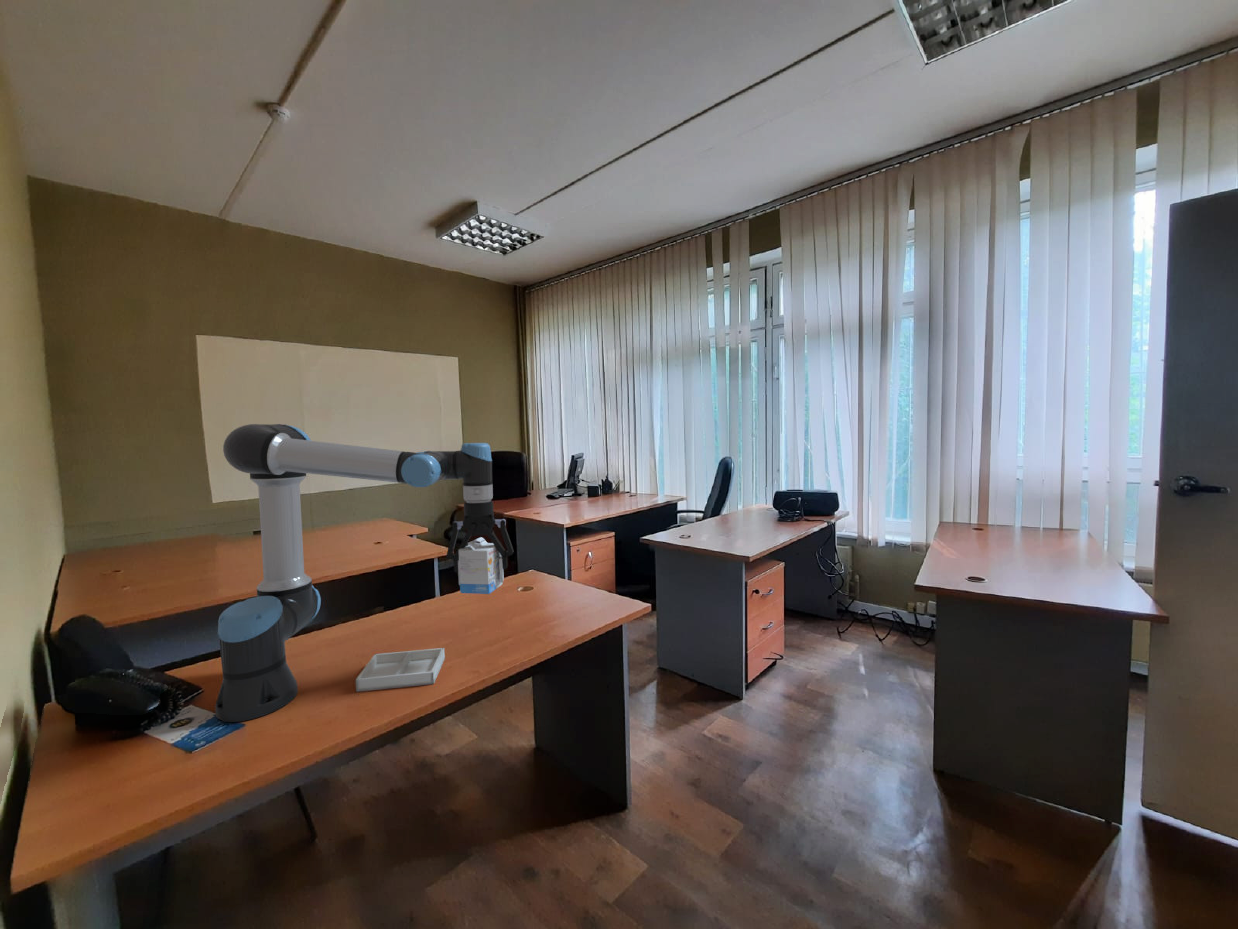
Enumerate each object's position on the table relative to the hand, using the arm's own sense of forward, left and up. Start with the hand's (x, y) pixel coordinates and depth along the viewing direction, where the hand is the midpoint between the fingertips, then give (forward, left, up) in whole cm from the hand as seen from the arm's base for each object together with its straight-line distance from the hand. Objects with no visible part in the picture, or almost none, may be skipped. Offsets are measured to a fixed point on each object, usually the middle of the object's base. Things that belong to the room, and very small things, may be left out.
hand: (481, 582), depth 128 cm
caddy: (-20, -5, -21) cm, 29 cm away
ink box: (0, 0, -2) cm, 2 cm away
